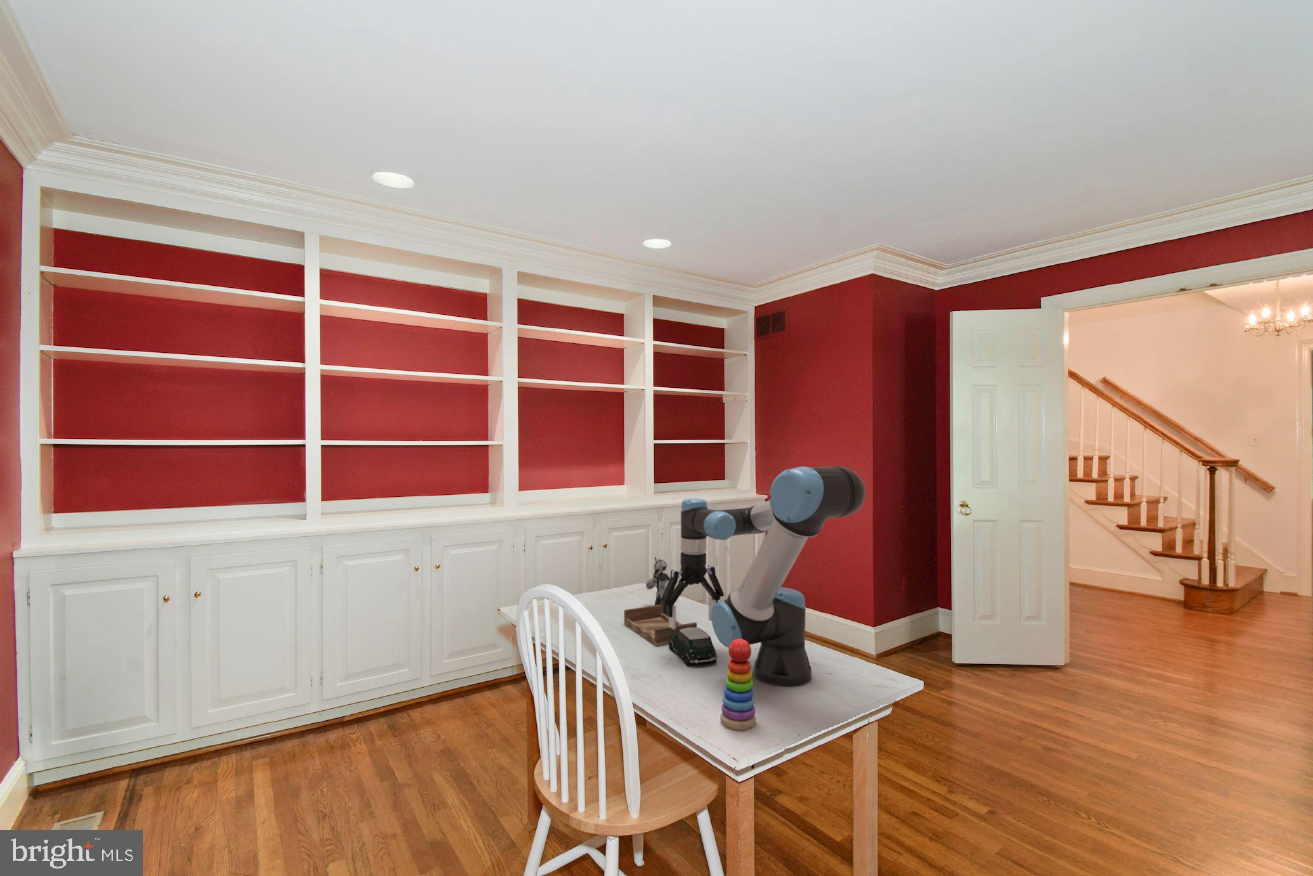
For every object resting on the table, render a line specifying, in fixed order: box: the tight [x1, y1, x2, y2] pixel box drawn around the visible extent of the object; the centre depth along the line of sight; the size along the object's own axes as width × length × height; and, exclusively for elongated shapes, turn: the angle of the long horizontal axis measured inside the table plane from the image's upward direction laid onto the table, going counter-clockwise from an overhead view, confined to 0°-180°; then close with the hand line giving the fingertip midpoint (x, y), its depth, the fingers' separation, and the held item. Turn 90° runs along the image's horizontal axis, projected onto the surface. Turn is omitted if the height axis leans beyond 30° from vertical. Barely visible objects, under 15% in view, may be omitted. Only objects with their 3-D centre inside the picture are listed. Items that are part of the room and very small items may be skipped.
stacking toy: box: [719, 639, 757, 731], centre depth 132 cm, size 8×8×19 cm
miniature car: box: [668, 627, 718, 667], centre depth 172 cm, size 9×18×8 cm, turn 19°
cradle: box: [623, 604, 698, 647], centre depth 193 cm, size 23×14×5 cm, turn 28°
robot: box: [645, 556, 670, 615], centre depth 214 cm, size 20×5×20 cm, turn 26°
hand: (692, 624), depth 173 cm, fingers open, 13 cm apart
